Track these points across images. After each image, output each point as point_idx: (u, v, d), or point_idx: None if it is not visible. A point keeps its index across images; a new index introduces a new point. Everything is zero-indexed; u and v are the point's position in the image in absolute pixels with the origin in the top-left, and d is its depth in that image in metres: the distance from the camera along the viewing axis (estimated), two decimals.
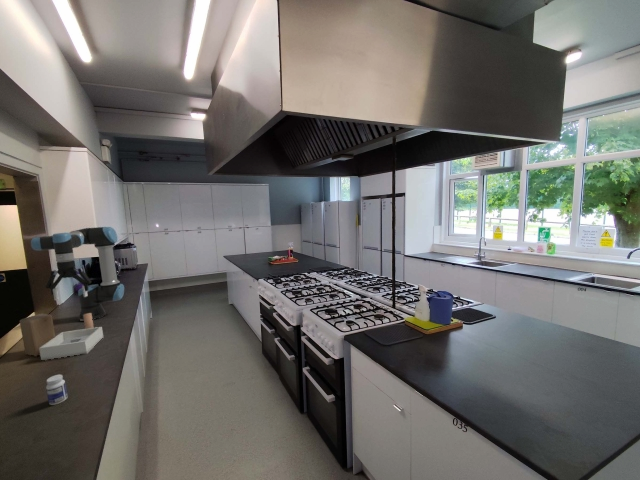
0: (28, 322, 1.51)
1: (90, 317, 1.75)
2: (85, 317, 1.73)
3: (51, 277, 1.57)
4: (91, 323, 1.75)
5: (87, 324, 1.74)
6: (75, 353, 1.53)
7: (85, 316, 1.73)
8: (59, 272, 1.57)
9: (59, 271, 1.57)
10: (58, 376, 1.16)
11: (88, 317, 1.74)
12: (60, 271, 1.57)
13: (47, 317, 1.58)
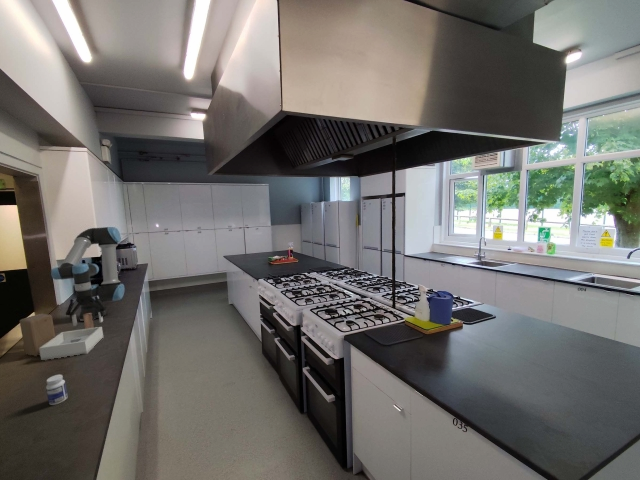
0: (28, 322, 1.51)
1: (90, 317, 1.75)
2: (85, 317, 1.73)
3: (70, 305, 1.71)
4: (91, 323, 1.75)
5: (87, 324, 1.74)
6: (75, 353, 1.53)
7: (85, 316, 1.73)
8: (78, 300, 1.72)
9: (78, 299, 1.72)
10: (58, 376, 1.16)
11: (88, 317, 1.74)
12: (78, 299, 1.72)
13: (47, 317, 1.58)
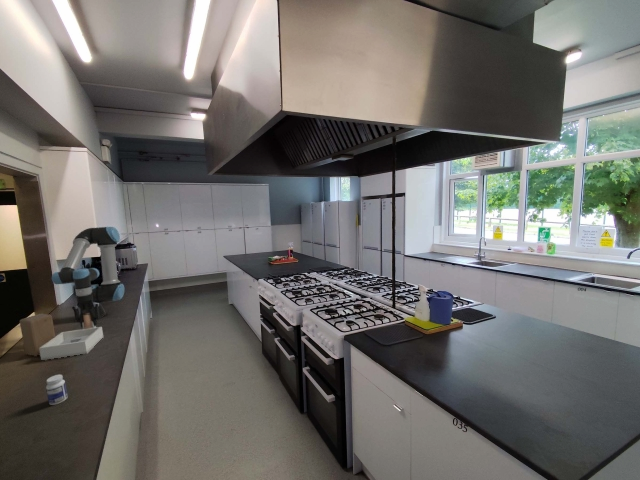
0: (28, 322, 1.51)
1: (90, 317, 1.75)
2: (85, 317, 1.73)
3: (75, 312, 1.72)
4: None
5: (87, 323, 1.74)
6: (75, 353, 1.53)
7: (85, 316, 1.73)
8: (79, 305, 1.72)
9: (78, 304, 1.72)
10: (58, 376, 1.16)
11: (88, 317, 1.74)
12: (79, 304, 1.72)
13: (47, 317, 1.58)
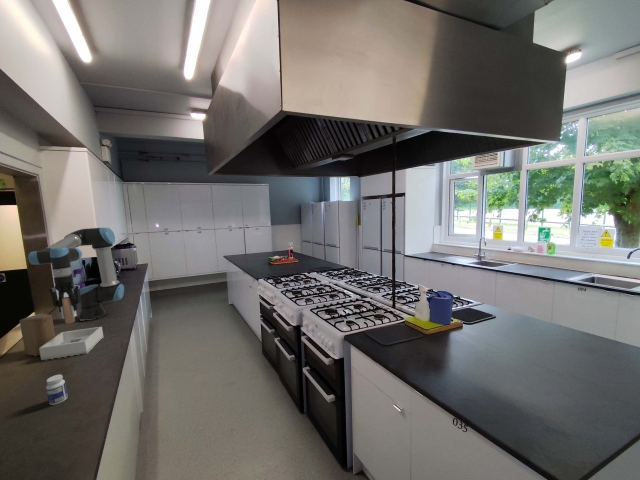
0: (28, 322, 1.51)
1: (69, 301, 1.57)
2: (64, 301, 1.55)
3: (52, 295, 1.54)
4: None
5: (66, 308, 1.56)
6: (75, 353, 1.53)
7: (64, 300, 1.55)
8: (57, 287, 1.55)
9: (56, 286, 1.55)
10: (58, 376, 1.16)
11: (67, 301, 1.56)
12: (57, 286, 1.55)
13: (47, 317, 1.58)
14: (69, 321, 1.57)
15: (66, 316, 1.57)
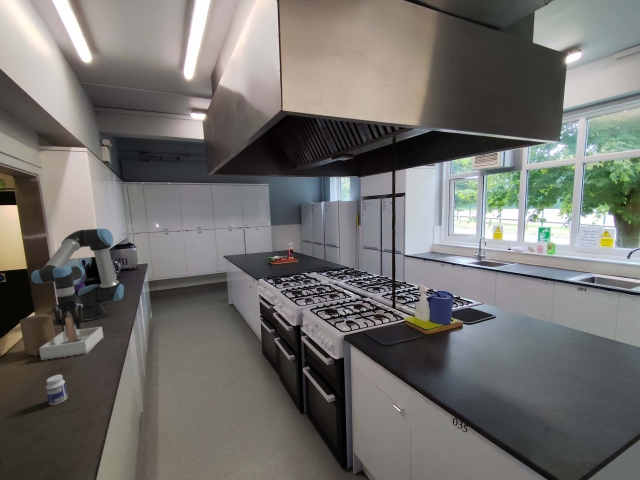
0: (28, 322, 1.51)
1: (72, 320, 1.58)
2: (67, 320, 1.57)
3: (56, 314, 1.56)
4: None
5: (69, 327, 1.57)
6: (75, 353, 1.53)
7: (67, 319, 1.57)
8: (60, 306, 1.56)
9: (59, 305, 1.56)
10: (58, 376, 1.16)
11: (70, 320, 1.57)
12: (60, 305, 1.56)
13: (47, 317, 1.58)
14: (72, 340, 1.58)
15: (69, 335, 1.58)
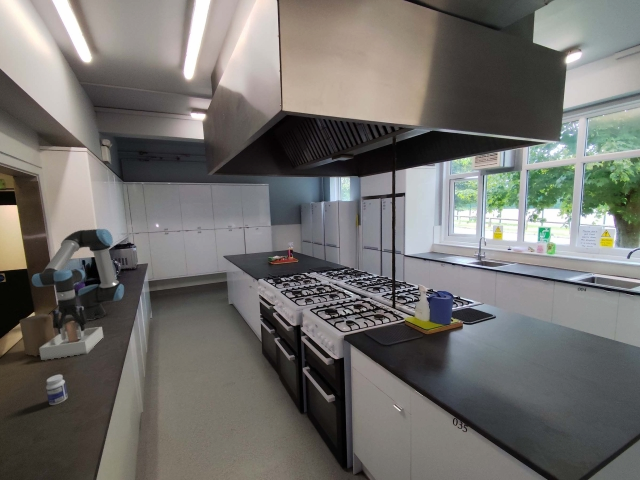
0: (28, 322, 1.51)
1: (73, 326, 1.59)
2: (67, 326, 1.57)
3: (54, 316, 1.56)
4: (74, 332, 1.59)
5: (70, 333, 1.58)
6: (75, 353, 1.53)
7: (67, 325, 1.57)
8: (60, 310, 1.56)
9: (60, 309, 1.56)
10: (58, 376, 1.16)
11: (71, 326, 1.58)
12: (61, 308, 1.56)
13: (47, 317, 1.58)
14: None
15: (70, 341, 1.58)
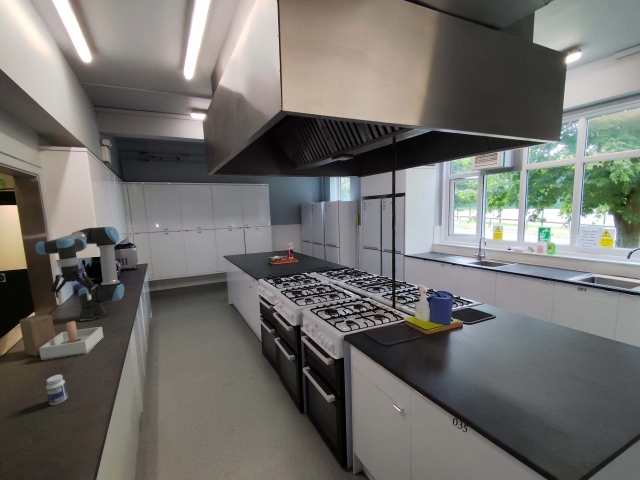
0: (28, 322, 1.51)
1: (73, 326, 1.59)
2: (68, 326, 1.57)
3: (56, 281, 1.61)
4: (75, 332, 1.59)
5: (70, 333, 1.58)
6: (75, 353, 1.53)
7: (68, 325, 1.57)
8: (63, 276, 1.61)
9: (63, 275, 1.61)
10: (58, 376, 1.16)
11: (71, 326, 1.58)
12: (64, 275, 1.61)
13: (47, 317, 1.58)
14: None
15: (70, 341, 1.58)
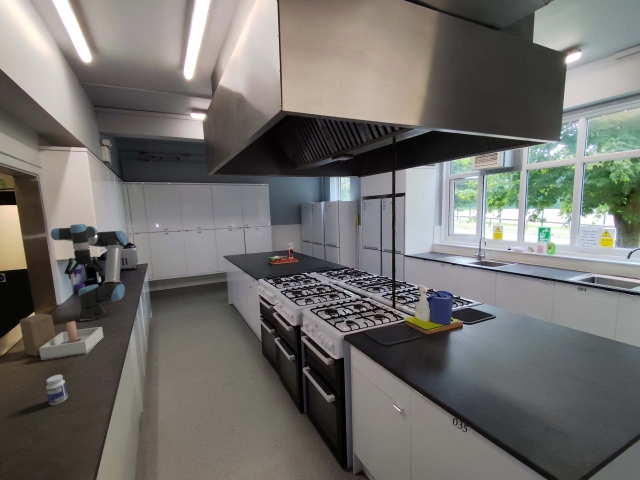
0: (28, 322, 1.51)
1: (73, 326, 1.59)
2: (68, 326, 1.57)
3: (69, 264, 1.74)
4: (75, 332, 1.59)
5: (70, 333, 1.58)
6: (75, 353, 1.53)
7: (68, 325, 1.57)
8: (76, 259, 1.75)
9: (76, 258, 1.75)
10: (58, 376, 1.16)
11: (71, 326, 1.58)
12: (77, 258, 1.75)
13: (47, 317, 1.58)
14: None
15: (70, 341, 1.58)
